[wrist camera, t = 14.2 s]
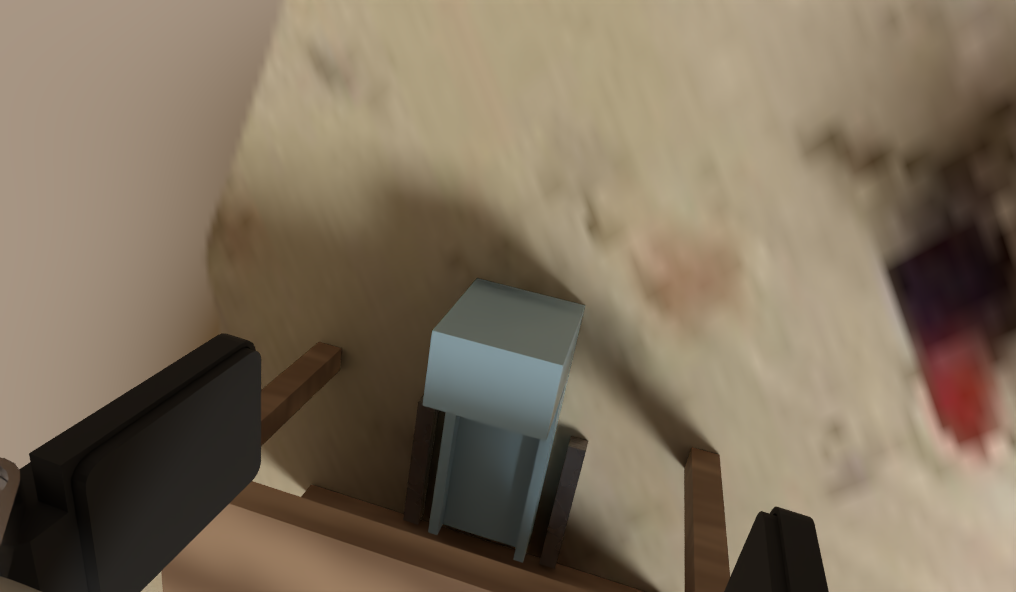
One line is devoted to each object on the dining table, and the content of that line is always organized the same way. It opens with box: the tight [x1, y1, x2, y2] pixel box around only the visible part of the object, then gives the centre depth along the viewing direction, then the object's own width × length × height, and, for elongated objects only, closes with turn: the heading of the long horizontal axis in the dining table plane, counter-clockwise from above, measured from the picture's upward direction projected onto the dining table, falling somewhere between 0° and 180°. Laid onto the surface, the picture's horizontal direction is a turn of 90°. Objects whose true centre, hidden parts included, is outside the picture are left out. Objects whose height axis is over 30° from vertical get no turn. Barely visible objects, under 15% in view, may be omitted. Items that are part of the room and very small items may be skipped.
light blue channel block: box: [423, 278, 585, 563], centre depth 35 cm, size 16×6×7 cm, turn 171°
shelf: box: [162, 342, 730, 592], centre depth 34 cm, size 12×24×14 cm, turn 81°
